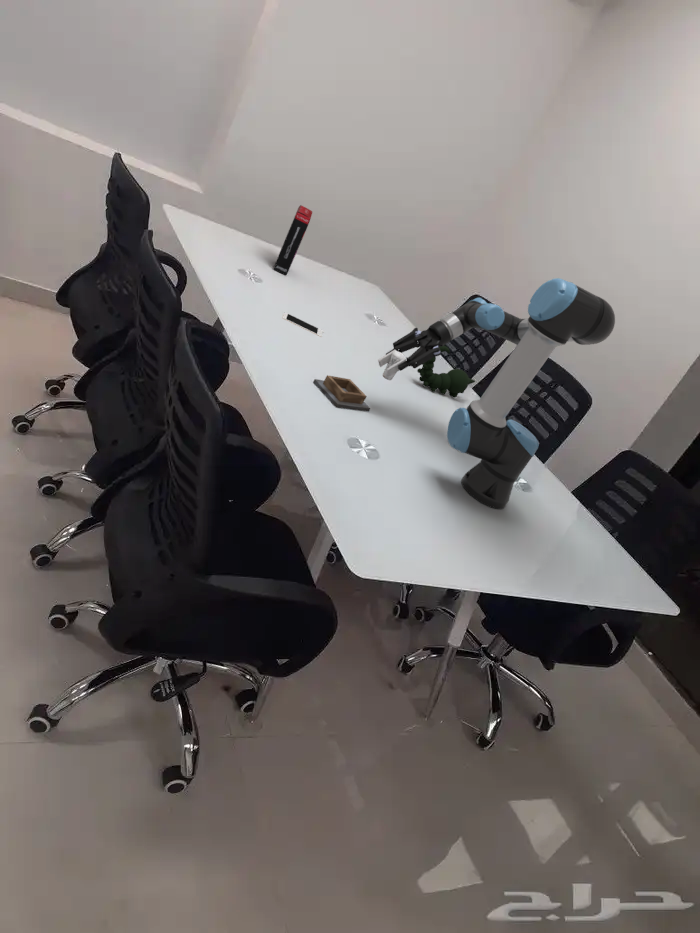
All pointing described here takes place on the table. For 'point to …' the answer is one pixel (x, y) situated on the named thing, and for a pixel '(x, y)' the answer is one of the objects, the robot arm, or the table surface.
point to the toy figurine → (444, 378)
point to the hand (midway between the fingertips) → (383, 367)
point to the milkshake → (394, 359)
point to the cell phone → (302, 324)
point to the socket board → (342, 393)
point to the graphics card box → (293, 240)
